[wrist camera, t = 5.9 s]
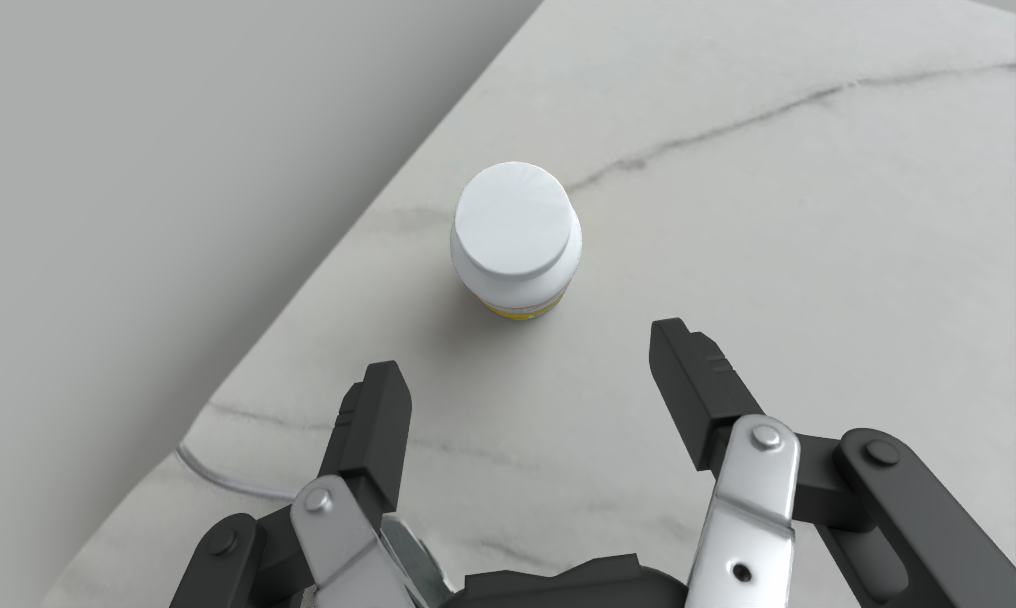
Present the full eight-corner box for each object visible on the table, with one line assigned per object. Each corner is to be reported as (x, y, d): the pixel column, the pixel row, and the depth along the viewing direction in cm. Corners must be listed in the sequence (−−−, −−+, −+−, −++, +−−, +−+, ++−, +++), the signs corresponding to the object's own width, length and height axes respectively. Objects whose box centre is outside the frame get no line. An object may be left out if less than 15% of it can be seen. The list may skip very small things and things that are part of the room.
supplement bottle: (485, 220, 24) (452, 127, 14) (576, 237, 23) (607, 154, 13) (464, 310, 23) (415, 278, 13) (557, 330, 23) (576, 312, 13)
